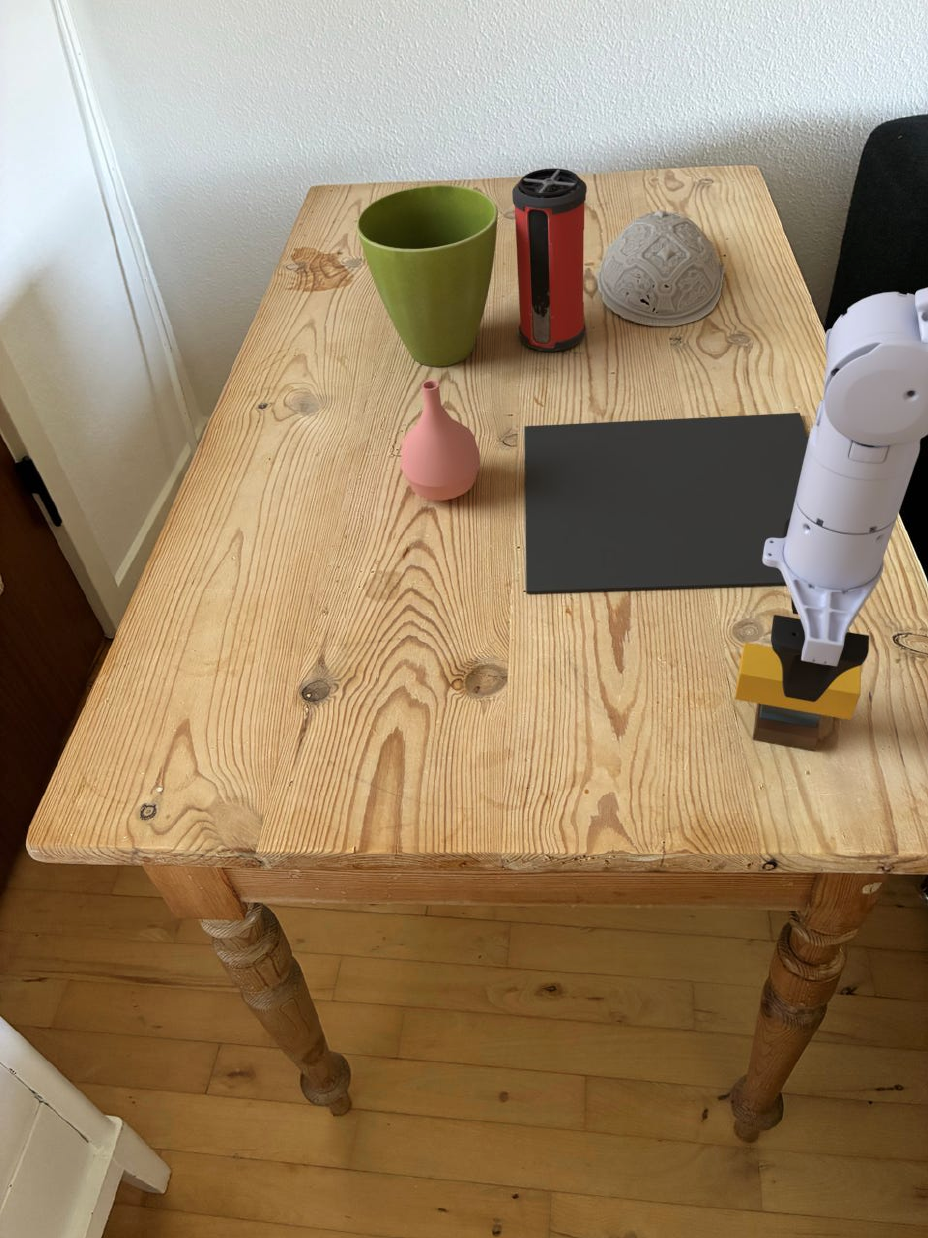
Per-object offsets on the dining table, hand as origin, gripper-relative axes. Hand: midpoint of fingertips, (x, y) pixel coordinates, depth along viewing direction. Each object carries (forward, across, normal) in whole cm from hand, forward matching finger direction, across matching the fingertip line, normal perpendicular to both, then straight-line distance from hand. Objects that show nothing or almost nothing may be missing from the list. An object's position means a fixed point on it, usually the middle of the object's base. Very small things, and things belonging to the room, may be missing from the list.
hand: (804, 652), depth 65 cm
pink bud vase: (+8, -21, -34) cm, 41 cm away
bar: (+5, 0, 0) cm, 5 cm away
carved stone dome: (+8, -66, -20) cm, 70 cm away
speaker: (+8, -50, -30) cm, 59 cm away
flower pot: (+8, -45, -42) cm, 62 cm away
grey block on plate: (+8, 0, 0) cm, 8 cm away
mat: (+8, -24, -12) cm, 28 cm away
